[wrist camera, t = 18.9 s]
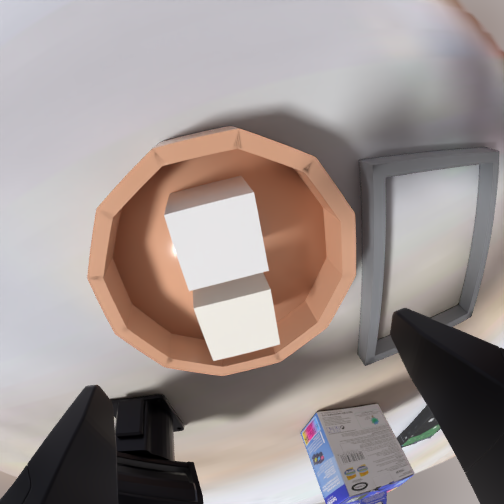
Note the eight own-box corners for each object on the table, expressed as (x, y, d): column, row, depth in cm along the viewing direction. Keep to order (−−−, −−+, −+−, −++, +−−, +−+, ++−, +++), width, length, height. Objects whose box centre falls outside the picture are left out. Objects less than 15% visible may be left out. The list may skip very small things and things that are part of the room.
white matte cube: (266, 308, 23) (280, 344, 19) (208, 322, 22) (213, 361, 19) (256, 257, 21) (270, 289, 17) (192, 273, 20) (193, 308, 17)
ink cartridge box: (297, 434, 34) (332, 529, 21) (313, 410, 32) (356, 515, 19) (359, 425, 36) (399, 505, 24) (378, 401, 34) (426, 486, 21)
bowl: (336, 313, 25) (353, 339, 22) (150, 358, 24) (148, 389, 21) (321, 112, 18) (347, 113, 15) (73, 169, 16) (51, 182, 13)
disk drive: (438, 385, 39) (392, 439, 44) (447, 396, 36) (398, 450, 41) (469, 377, 41) (426, 428, 47) (477, 387, 39) (432, 438, 44)
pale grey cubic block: (254, 240, 20) (268, 270, 16) (188, 257, 20) (189, 291, 16) (241, 175, 18) (253, 192, 14) (169, 193, 18) (164, 215, 14)
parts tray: (462, 308, 30) (471, 316, 28) (357, 354, 28) (364, 366, 27) (485, 147, 21) (499, 151, 19) (359, 160, 20) (372, 165, 18)
